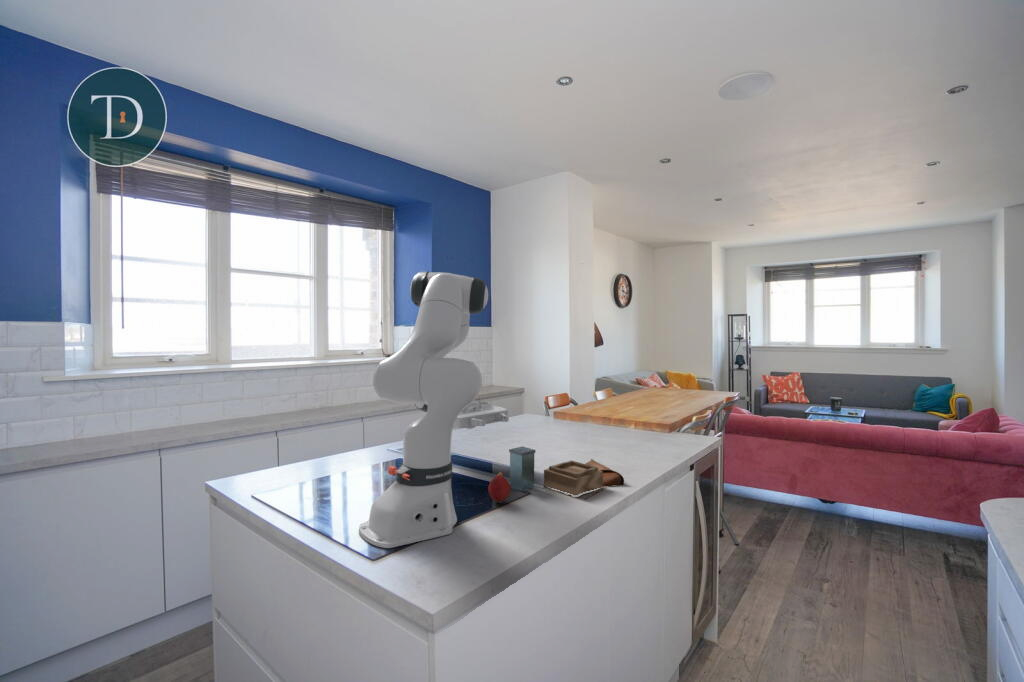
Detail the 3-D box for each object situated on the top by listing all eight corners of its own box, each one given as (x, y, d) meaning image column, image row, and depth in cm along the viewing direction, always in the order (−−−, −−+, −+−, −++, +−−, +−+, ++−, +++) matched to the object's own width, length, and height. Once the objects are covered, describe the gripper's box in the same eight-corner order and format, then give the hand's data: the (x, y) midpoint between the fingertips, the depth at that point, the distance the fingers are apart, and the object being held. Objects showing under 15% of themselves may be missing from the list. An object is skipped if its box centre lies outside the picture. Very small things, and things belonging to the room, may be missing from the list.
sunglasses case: (570, 470, 154) (579, 452, 155) (586, 479, 156) (595, 461, 157) (600, 488, 137) (610, 467, 138) (617, 497, 140) (627, 477, 141)
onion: (496, 508, 121) (496, 477, 121) (484, 501, 125) (484, 471, 125) (514, 503, 124) (514, 473, 124) (502, 497, 129) (502, 468, 129)
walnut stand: (575, 498, 129) (575, 476, 129) (543, 486, 138) (544, 466, 138) (602, 488, 137) (602, 467, 137) (570, 478, 146) (571, 459, 146)
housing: (521, 491, 134) (521, 453, 133) (508, 487, 138) (509, 449, 137) (535, 487, 137) (535, 450, 137) (522, 483, 141) (522, 446, 141)
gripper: (442, 408, 149) (468, 415, 139) (491, 401, 163) (519, 407, 153) (442, 428, 149) (468, 436, 139) (491, 420, 163) (519, 426, 153)
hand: (495, 421), depth 146 cm, fingers open, 8 cm apart
